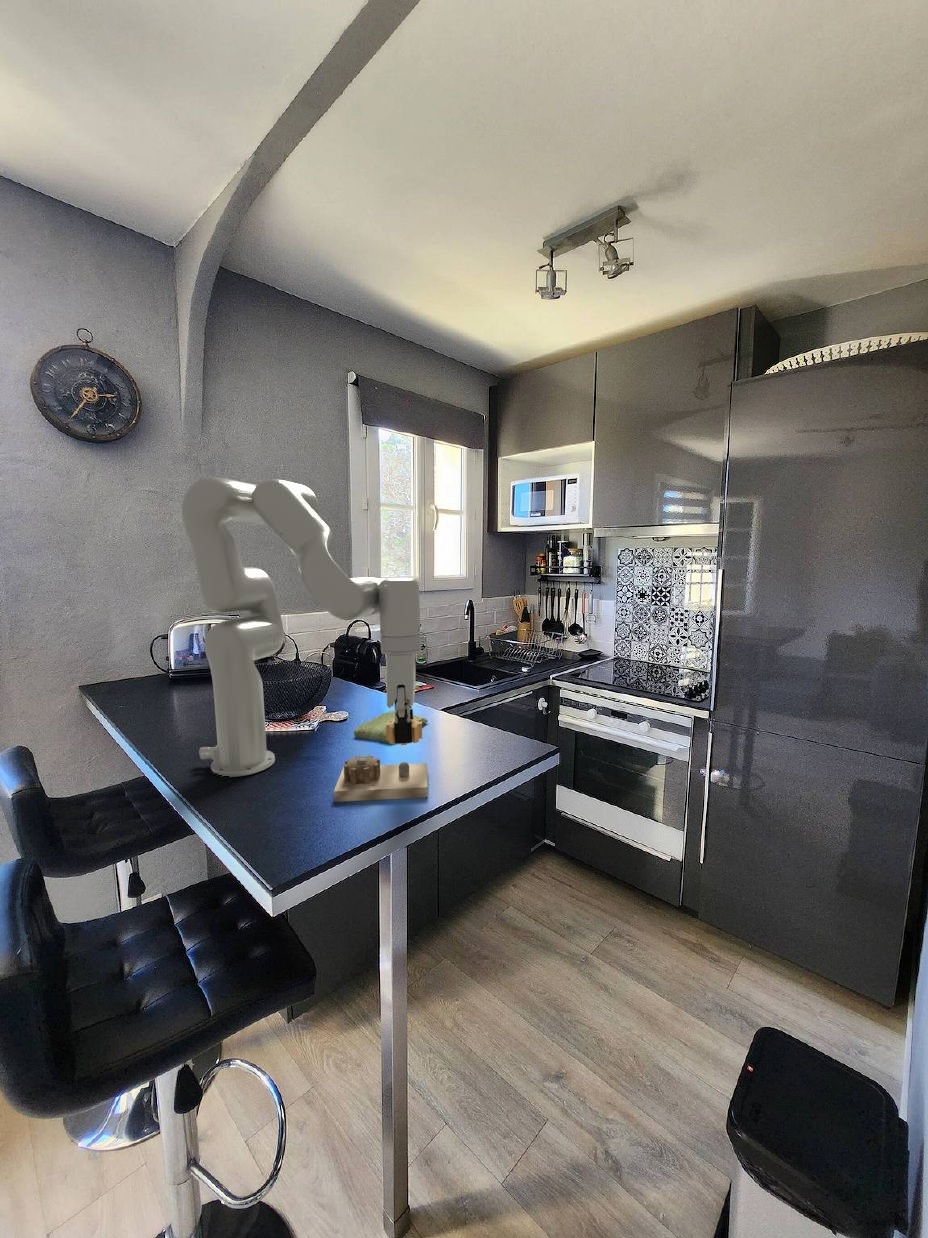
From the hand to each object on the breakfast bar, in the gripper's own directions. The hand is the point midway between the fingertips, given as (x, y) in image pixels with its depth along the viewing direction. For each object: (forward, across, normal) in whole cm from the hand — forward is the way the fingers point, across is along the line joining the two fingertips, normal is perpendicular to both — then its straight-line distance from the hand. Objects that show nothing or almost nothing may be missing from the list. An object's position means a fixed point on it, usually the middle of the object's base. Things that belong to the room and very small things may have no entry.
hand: (404, 734), depth 97 cm
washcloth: (+11, -33, -5) cm, 35 cm away
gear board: (+10, 0, -4) cm, 11 cm away
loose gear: (+1, 0, 0) cm, 1 cm away
